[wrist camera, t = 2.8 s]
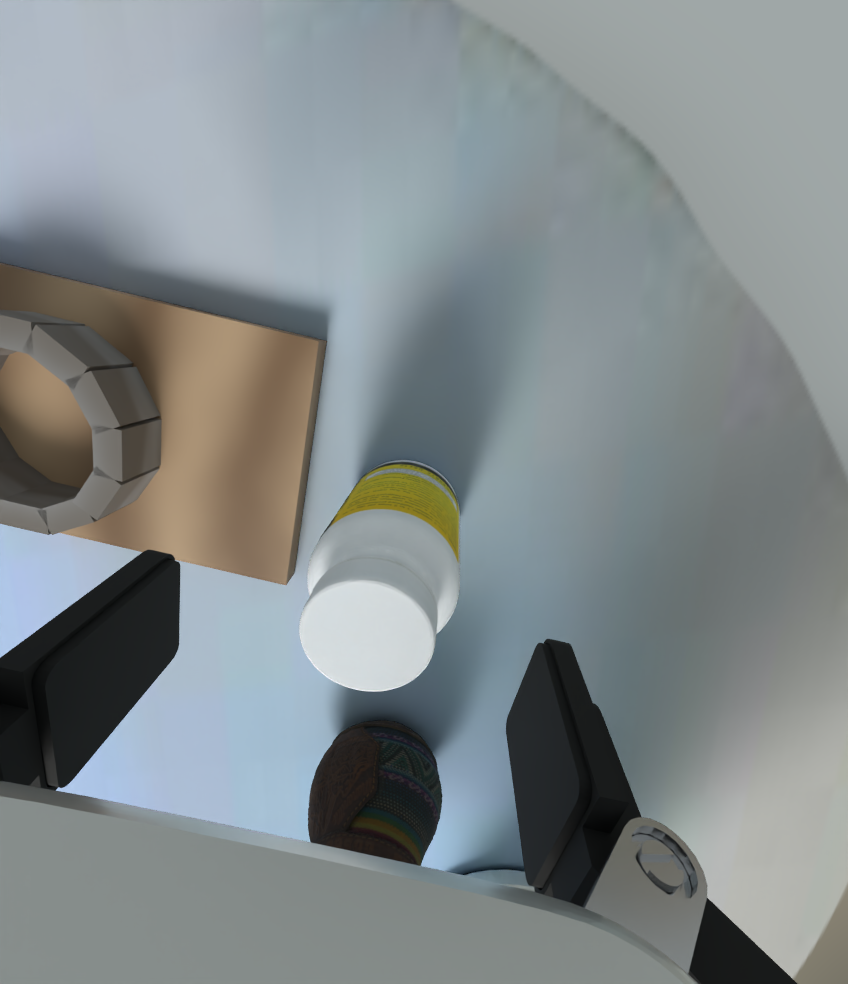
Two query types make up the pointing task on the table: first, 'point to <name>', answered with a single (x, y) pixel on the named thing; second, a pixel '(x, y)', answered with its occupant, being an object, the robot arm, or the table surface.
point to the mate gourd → (376, 793)
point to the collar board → (154, 424)
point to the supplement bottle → (384, 578)
